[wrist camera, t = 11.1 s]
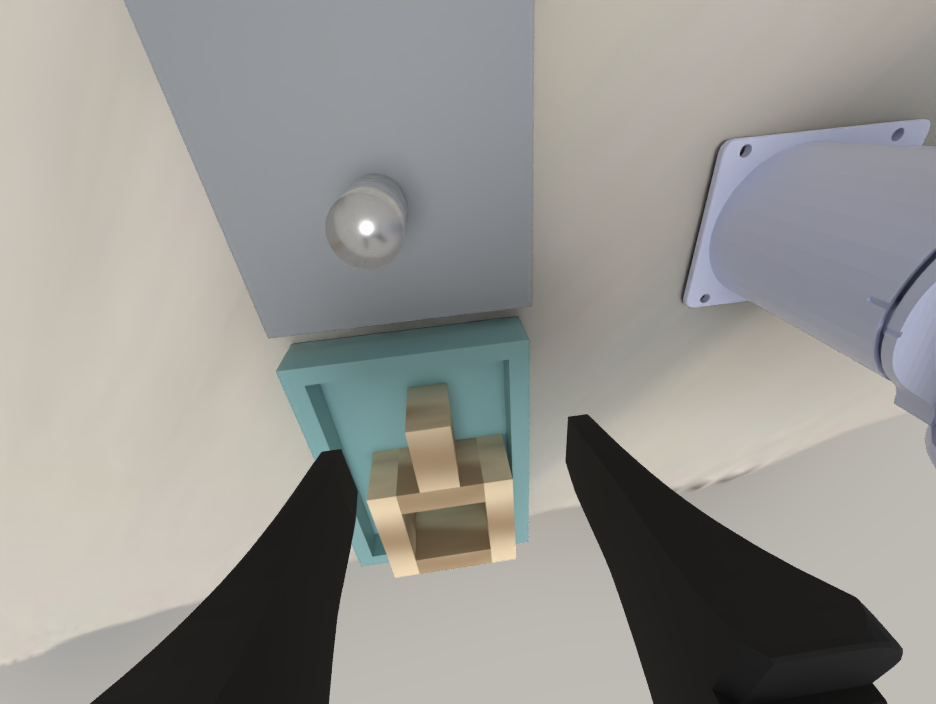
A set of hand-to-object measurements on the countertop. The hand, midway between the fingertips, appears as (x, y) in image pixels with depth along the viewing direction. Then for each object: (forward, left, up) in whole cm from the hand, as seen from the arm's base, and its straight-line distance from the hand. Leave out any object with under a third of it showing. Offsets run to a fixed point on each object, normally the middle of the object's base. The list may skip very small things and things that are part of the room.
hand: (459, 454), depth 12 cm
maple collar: (+1, +10, -8) cm, 13 cm away
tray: (+2, +9, -9) cm, 13 cm away
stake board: (+2, -8, -9) cm, 12 cm away
